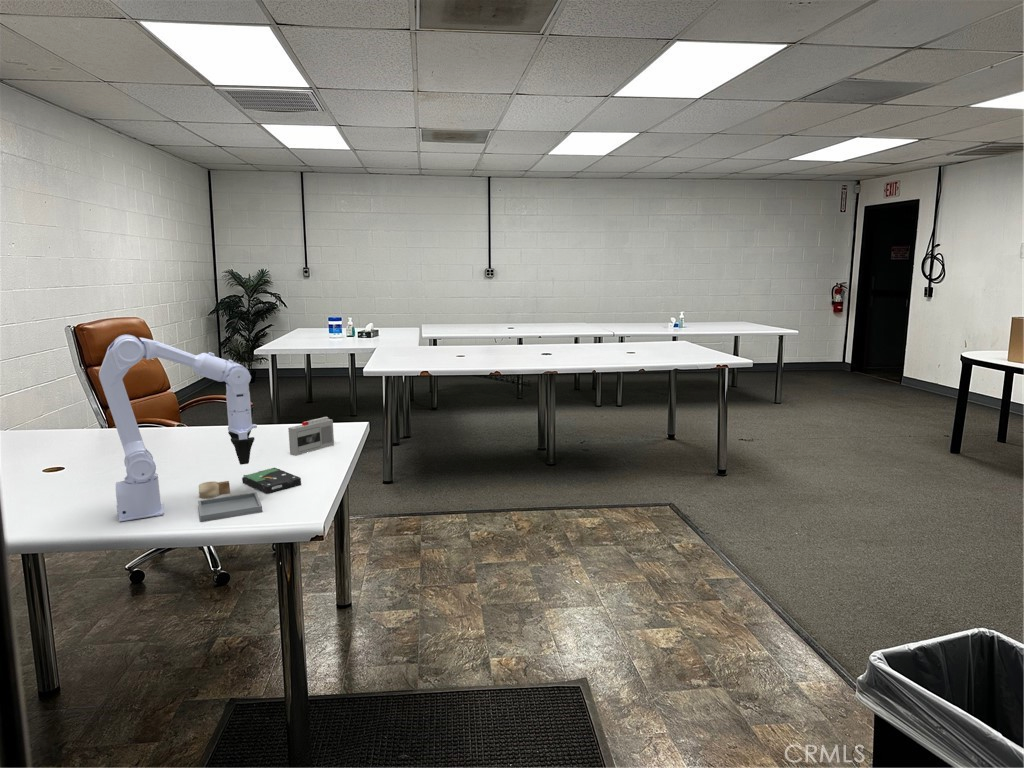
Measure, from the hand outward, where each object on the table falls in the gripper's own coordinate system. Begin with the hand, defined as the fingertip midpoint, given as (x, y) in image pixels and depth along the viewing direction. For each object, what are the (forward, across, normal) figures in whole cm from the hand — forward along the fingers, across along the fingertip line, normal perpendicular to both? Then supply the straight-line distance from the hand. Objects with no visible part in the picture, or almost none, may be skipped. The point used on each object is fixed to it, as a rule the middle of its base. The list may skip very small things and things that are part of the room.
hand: (242, 460), depth 177 cm
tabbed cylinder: (+10, +5, +7) cm, 13 cm away
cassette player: (+10, +38, -24) cm, 46 cm away
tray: (+10, -9, +4) cm, 14 cm away
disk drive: (+10, +7, -7) cm, 14 cm away
